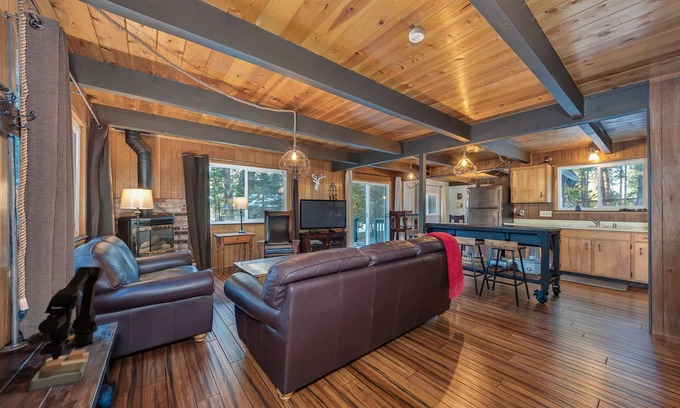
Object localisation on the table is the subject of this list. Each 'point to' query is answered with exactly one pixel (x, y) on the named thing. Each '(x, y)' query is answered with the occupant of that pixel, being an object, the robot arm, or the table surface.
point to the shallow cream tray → (65, 366)
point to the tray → (55, 379)
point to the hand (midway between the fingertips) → (55, 361)
